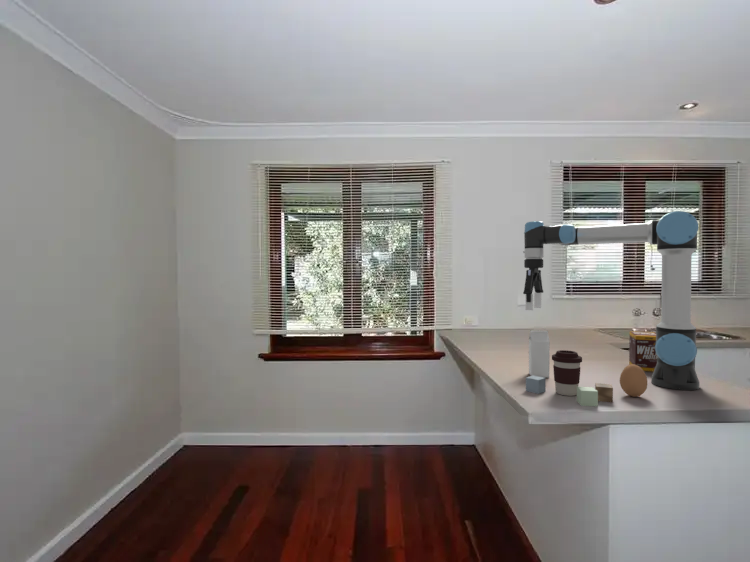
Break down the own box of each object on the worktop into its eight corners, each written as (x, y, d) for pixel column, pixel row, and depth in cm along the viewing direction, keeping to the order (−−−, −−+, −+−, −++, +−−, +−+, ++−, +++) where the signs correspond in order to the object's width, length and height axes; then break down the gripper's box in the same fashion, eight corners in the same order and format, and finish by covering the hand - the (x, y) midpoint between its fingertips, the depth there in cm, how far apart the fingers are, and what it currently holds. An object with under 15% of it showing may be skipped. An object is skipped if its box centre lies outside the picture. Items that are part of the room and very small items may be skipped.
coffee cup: (545, 391, 157) (545, 350, 156) (565, 388, 160) (565, 348, 160) (567, 398, 147) (567, 355, 147) (588, 395, 151) (588, 353, 151)
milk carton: (549, 378, 176) (549, 331, 176) (531, 377, 178) (531, 331, 177) (546, 373, 183) (546, 329, 183) (528, 373, 185) (528, 329, 184)
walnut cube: (611, 398, 148) (611, 384, 147) (612, 402, 143) (612, 388, 143) (595, 397, 150) (595, 382, 150) (595, 401, 145) (596, 386, 145)
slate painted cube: (545, 391, 157) (545, 377, 157) (538, 394, 154) (538, 380, 154) (532, 388, 161) (532, 375, 161) (525, 391, 158) (525, 377, 157)
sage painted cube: (592, 402, 144) (592, 387, 144) (597, 406, 139) (597, 391, 139) (576, 401, 145) (576, 386, 145) (581, 405, 140) (581, 390, 140)
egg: (636, 401, 144) (637, 367, 144) (614, 394, 152) (614, 363, 152) (652, 398, 148) (653, 365, 148) (630, 392, 155) (630, 361, 155)
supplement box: (634, 370, 189) (635, 335, 189) (628, 363, 204) (629, 330, 203) (662, 372, 185) (662, 336, 185) (654, 365, 200) (654, 331, 199)
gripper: (532, 259, 193) (532, 306, 193) (515, 258, 172) (515, 310, 173) (550, 259, 189) (549, 307, 189) (535, 257, 168) (535, 311, 169)
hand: (533, 309), depth 181 cm, fingers open, 13 cm apart
